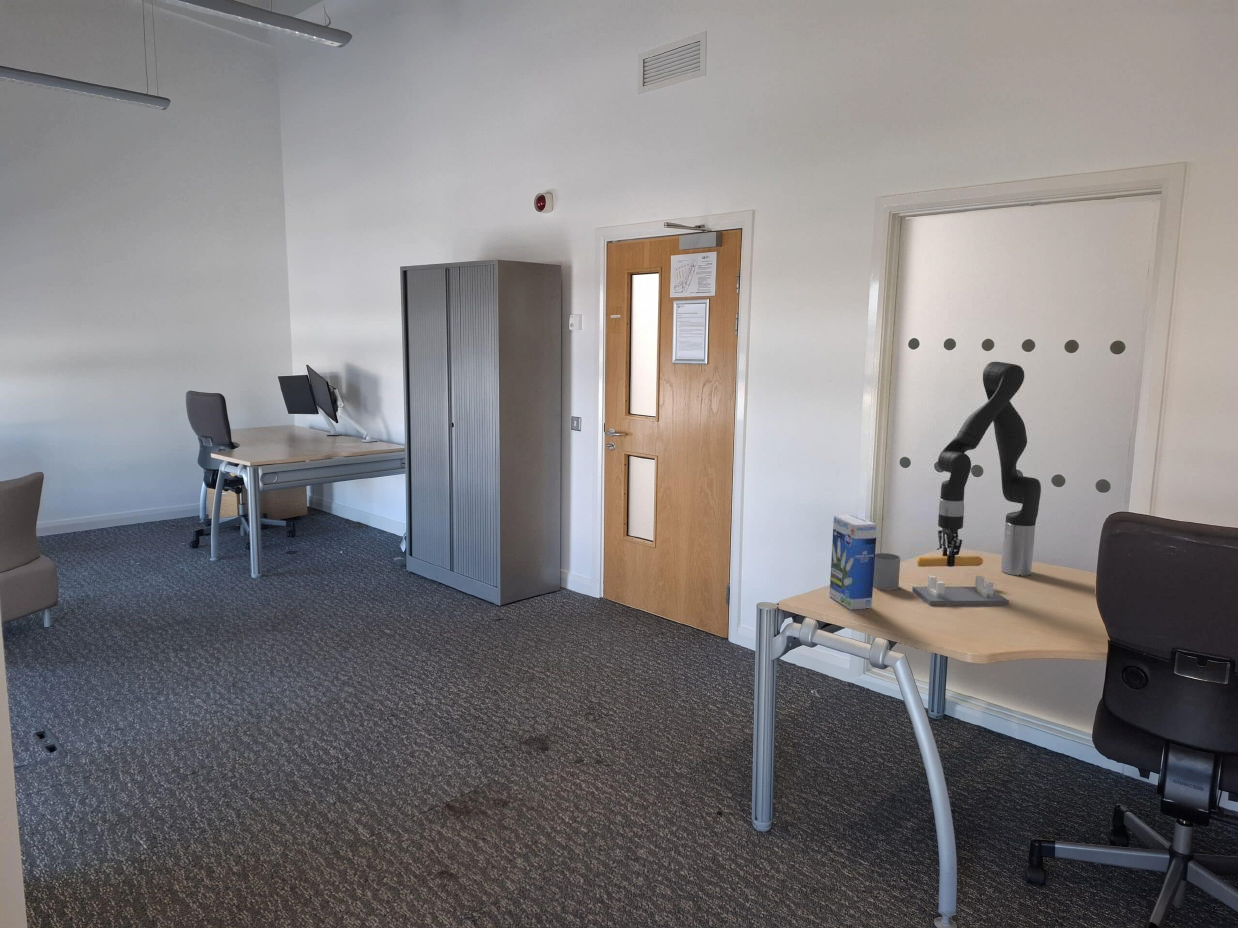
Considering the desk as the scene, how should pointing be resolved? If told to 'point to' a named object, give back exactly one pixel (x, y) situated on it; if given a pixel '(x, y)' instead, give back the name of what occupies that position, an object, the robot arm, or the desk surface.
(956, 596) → the board
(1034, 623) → the desk surface
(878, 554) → the cup
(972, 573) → the desk surface
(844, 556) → the string lights box
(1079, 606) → the desk surface
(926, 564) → the orange rod
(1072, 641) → the desk surface
